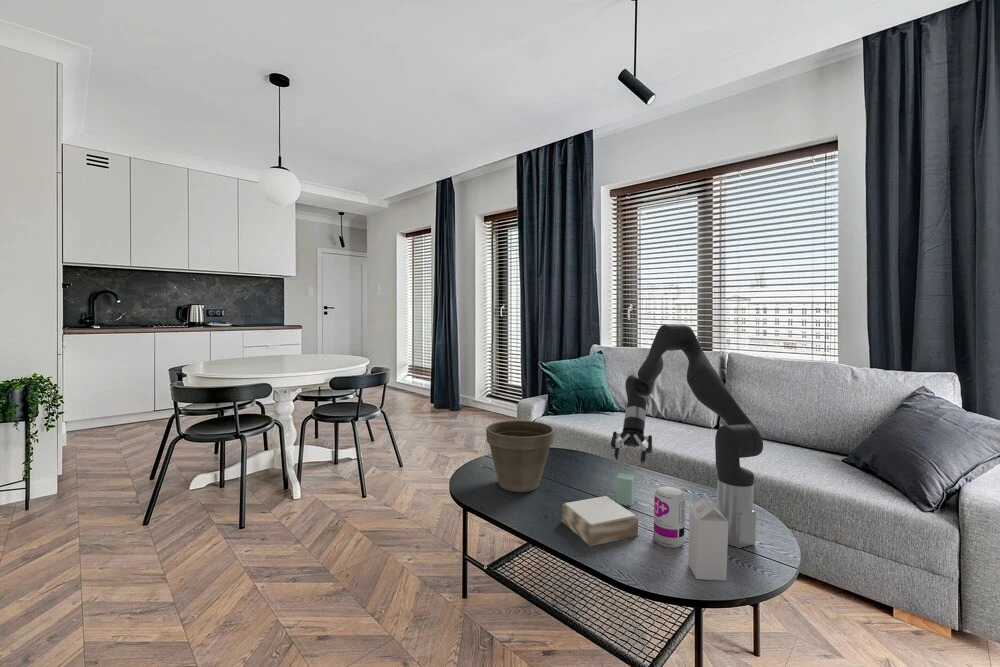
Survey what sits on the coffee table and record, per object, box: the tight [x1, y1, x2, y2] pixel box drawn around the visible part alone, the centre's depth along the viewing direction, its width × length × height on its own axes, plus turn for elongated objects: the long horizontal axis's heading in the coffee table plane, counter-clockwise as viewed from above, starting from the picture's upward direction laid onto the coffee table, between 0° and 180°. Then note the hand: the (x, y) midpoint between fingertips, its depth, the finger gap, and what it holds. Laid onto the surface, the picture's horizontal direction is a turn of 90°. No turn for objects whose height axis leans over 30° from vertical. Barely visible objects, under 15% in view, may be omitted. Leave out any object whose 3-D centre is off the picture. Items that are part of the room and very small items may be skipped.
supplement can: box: [653, 484, 686, 549], centre depth 136 cm, size 8×8×15 cm
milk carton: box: [687, 493, 729, 582], centre depth 120 cm, size 7×7×19 cm
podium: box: [561, 495, 639, 547], centre depth 144 cm, size 16×16×6 cm
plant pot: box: [485, 420, 555, 493], centre depth 177 cm, size 25×25×22 cm
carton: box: [615, 472, 635, 507], centre depth 163 cm, size 5×5×9 cm
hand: (629, 460), depth 170 cm, fingers open, 8 cm apart
